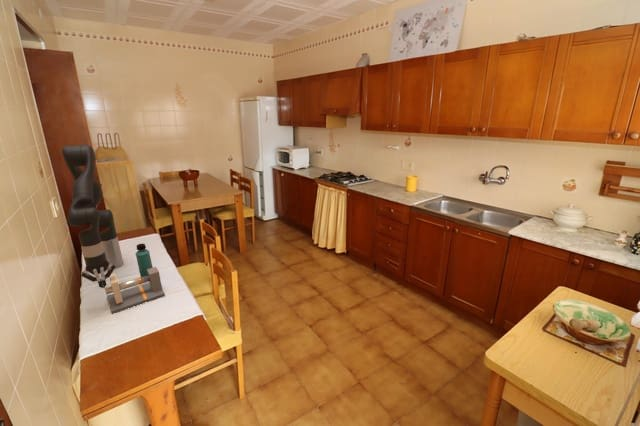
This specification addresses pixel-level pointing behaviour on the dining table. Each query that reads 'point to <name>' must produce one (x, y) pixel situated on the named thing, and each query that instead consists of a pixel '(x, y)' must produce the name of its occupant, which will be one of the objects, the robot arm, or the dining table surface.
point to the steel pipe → (129, 284)
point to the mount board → (138, 293)
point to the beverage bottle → (143, 259)
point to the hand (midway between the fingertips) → (103, 286)
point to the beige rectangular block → (116, 288)
